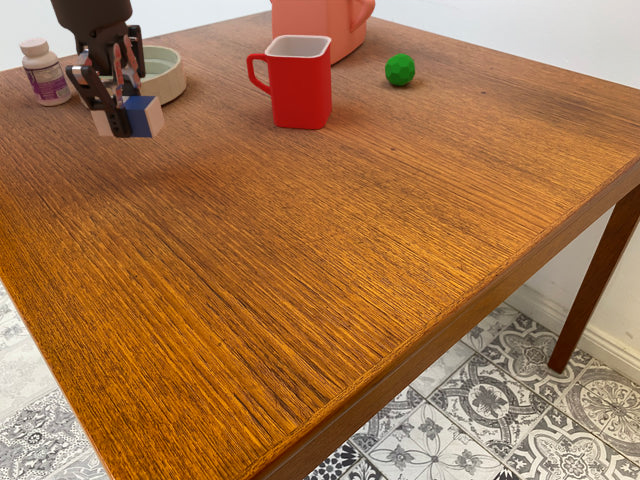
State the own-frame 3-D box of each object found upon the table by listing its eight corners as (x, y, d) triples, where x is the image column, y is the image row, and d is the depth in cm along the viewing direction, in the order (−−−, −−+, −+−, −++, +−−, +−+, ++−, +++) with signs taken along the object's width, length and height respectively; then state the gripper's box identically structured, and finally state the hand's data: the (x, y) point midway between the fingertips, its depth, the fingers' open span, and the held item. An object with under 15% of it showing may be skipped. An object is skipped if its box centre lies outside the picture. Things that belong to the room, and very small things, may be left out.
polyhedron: (379, 87, 85) (380, 58, 82) (390, 76, 88) (391, 48, 85) (409, 92, 83) (411, 62, 80) (418, 80, 86) (420, 51, 83)
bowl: (63, 115, 82) (51, 85, 79) (110, 72, 95) (101, 45, 92) (166, 118, 80) (158, 87, 77) (200, 73, 93) (194, 45, 90)
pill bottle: (37, 97, 88) (13, 40, 82) (70, 90, 90) (48, 33, 83) (40, 110, 84) (15, 50, 78) (74, 102, 86) (52, 43, 80)
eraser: (99, 136, 62) (89, 108, 59) (112, 122, 64) (103, 95, 62) (154, 138, 61) (146, 109, 59) (165, 123, 64) (158, 95, 61)
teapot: (354, 74, 89) (354, -13, 80) (251, 55, 98) (240, -25, 89) (400, 37, 102) (405, -42, 93) (305, 23, 111) (301, -50, 102)
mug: (335, 105, 80) (333, 36, 74) (324, 131, 74) (320, 58, 67) (262, 101, 83) (253, 33, 76) (245, 125, 77) (234, 54, 70)
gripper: (81, -45, 57) (126, 101, 68) (5, -8, 47) (73, 157, 58) (145, -46, 56) (180, 102, 67) (83, -9, 46) (137, 159, 57)
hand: (130, 127), depth 62 cm, fingers closed on eraser, 3 cm apart
